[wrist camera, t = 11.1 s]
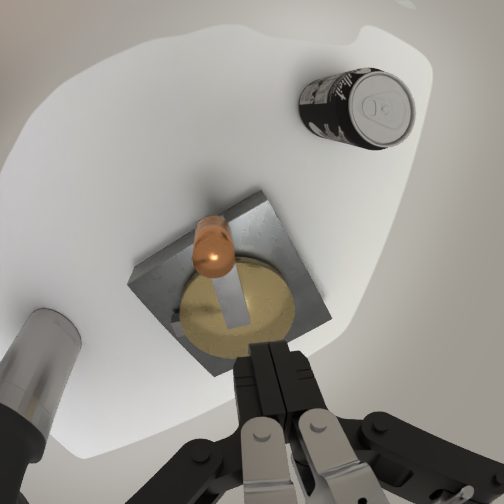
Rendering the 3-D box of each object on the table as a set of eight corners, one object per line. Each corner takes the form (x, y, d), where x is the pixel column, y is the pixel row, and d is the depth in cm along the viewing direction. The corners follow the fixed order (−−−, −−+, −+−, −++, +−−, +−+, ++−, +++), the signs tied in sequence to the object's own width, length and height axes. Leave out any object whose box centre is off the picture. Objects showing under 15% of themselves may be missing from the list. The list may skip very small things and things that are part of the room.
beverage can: (354, 138, 31) (418, 155, 20) (298, 138, 30) (344, 152, 19) (353, 81, 28) (419, 73, 17) (295, 78, 27) (342, 60, 17)
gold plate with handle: (296, 333, 36) (314, 382, 28) (191, 357, 35) (190, 408, 28) (272, 191, 28) (294, 219, 21) (138, 225, 28) (115, 263, 20)
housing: (213, 356, 41) (214, 378, 38) (134, 267, 34) (126, 285, 30) (322, 300, 39) (332, 319, 36) (261, 190, 32) (268, 200, 28)
